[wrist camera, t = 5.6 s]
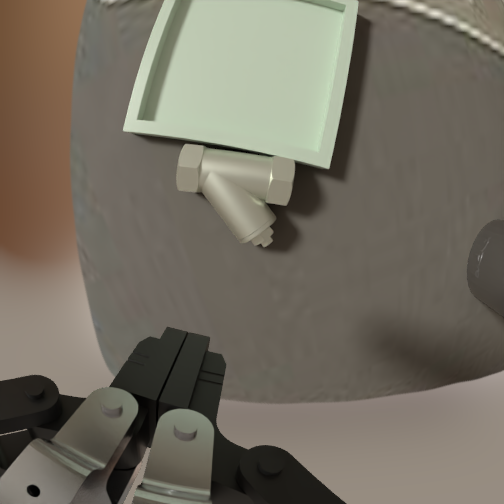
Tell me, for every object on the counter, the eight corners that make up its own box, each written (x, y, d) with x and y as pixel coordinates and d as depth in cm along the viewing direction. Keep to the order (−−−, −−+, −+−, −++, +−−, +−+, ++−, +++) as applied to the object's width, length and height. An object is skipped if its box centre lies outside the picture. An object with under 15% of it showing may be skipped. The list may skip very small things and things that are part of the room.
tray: (352, 11, 18) (358, 1, 16) (323, 169, 22) (329, 168, 20) (181, -15, 18) (176, -26, 16) (133, 133, 22) (123, 130, 20)
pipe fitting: (276, 243, 24) (289, 162, 23) (281, 255, 20) (297, 158, 19) (179, 229, 24) (190, 148, 22) (167, 238, 20) (180, 141, 18)
